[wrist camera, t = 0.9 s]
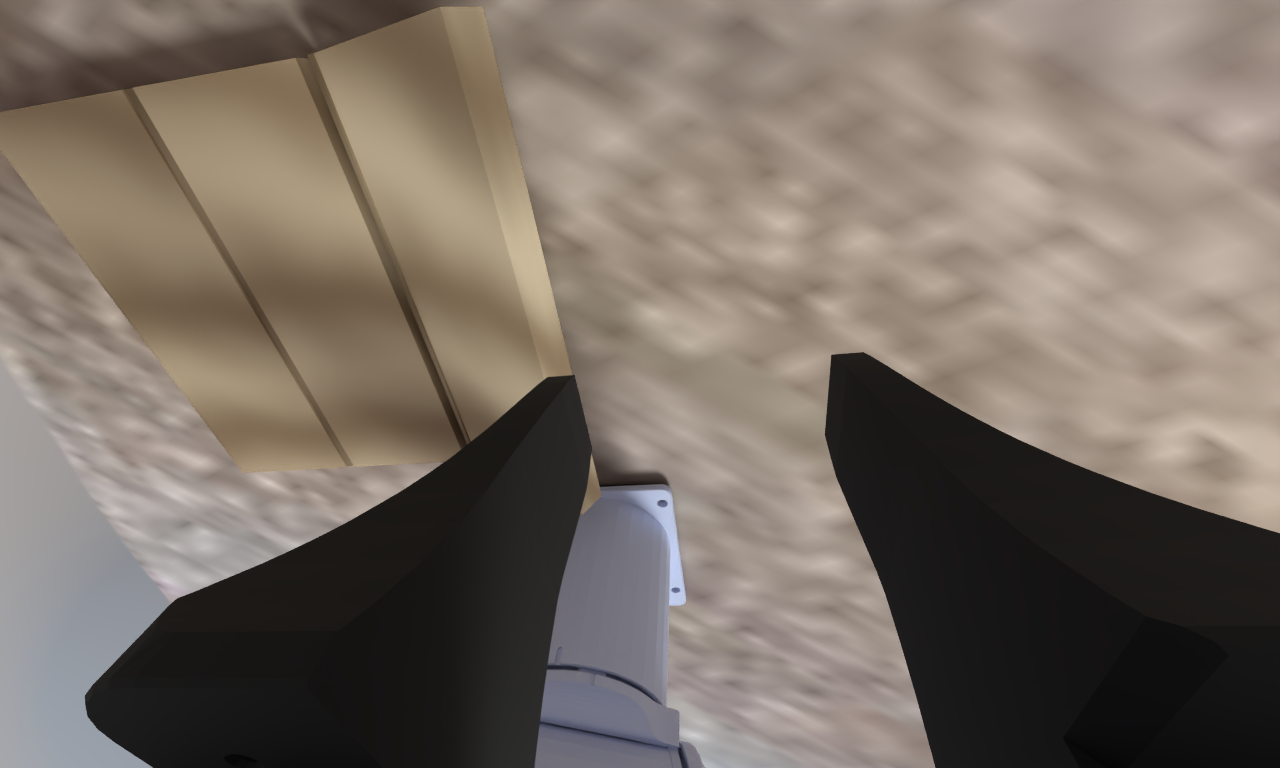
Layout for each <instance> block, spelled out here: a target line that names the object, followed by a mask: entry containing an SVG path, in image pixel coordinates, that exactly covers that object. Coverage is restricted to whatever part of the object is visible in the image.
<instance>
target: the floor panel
mask: <svg viewBox="0 0 1280 768" xmlns="http://www.w3.org/2000/svg"><path fill="white" fill-rule="evenodd" d="M0 150H1V152H2V153H3V154H4V156H5V157H6V158H7V160H8V161H9V162H10V164H11V165H12V166H13V168H14V169H15V170H16V171H17V173H18V174H19V175H20V177H21V178H22V179H23V181H24V182H25V183H26V185H27V186H28V187H29V189H30V190H31V191H32V193H33V194H34V195H35V197H36V198H37V199H38V201H39V202H40V203H41V205H42V206H43V207H44V209H45V210H46V211H47V213H48V214H49V215H50V217H51V218H52V219H53V221H54V222H55V223H56V225H57V226H58V227H59V229H60V230H61V231H62V233H63V234H64V235H65V237H66V238H67V239H68V241H69V242H70V243H71V245H72V246H73V247H74V249H75V250H76V251H77V253H78V254H79V255H80V257H81V258H82V259H83V261H84V262H85V263H86V265H87V266H88V267H89V269H90V270H91V271H92V273H93V274H94V275H95V277H96V278H97V279H98V281H99V282H100V283H101V285H102V286H103V287H104V289H105V290H106V291H107V293H108V294H109V295H110V297H111V298H112V299H113V301H114V302H115V303H116V305H117V306H118V307H119V309H120V310H121V311H122V313H123V314H124V315H125V317H126V318H127V319H128V321H129V322H130V323H131V325H132V326H133V327H134V329H135V330H136V331H137V333H138V334H139V335H140V337H141V338H142V339H143V341H144V342H145V343H146V345H147V346H148V347H149V349H150V350H151V351H152V353H153V354H154V355H155V357H156V358H157V359H158V361H159V362H160V363H161V365H162V366H163V367H164V369H165V370H166V371H167V373H168V374H169V375H170V377H171V378H172V379H173V381H174V382H175V383H176V385H177V386H178V387H179V389H180V390H181V391H182V393H183V394H184V395H185V397H186V398H187V399H188V401H189V402H190V403H191V405H192V406H193V407H194V409H195V410H196V411H197V413H198V414H199V415H200V417H201V418H202V419H203V420H204V422H205V423H206V424H207V426H208V427H209V428H210V430H211V431H212V432H213V434H214V435H215V436H216V438H217V439H218V440H219V442H220V443H221V444H222V446H223V447H224V448H225V450H226V451H227V452H228V454H229V455H230V456H231V458H232V459H233V460H234V462H235V463H236V464H237V466H238V467H239V468H240V470H241V471H242V472H243V473H250V472H268V471H286V470H304V469H322V468H340V467H347V466H352V465H354V467H358V466H376V465H394V464H412V463H430V462H445V461H447V460H448V459H449V458H451V457H452V456H453V455H455V454H456V453H457V452H459V451H460V450H461V449H462V448H464V447H465V446H466V445H467V443H466V440H465V438H464V435H463V433H462V431H461V428H460V426H459V423H458V421H457V418H456V416H455V414H454V411H453V409H452V406H451V404H450V401H449V399H448V397H447V394H446V392H445V389H444V387H443V384H442V382H441V380H440V377H439V375H438V372H437V370H436V367H435V365H434V363H433V360H432V358H431V355H430V353H429V350H428V348H427V346H426V343H425V341H424V338H423V336H422V333H421V331H420V329H419V326H418V324H417V321H416V319H415V316H414V314H413V312H412V309H411V307H410V304H409V302H408V299H407V297H406V295H405V292H404V290H403V287H402V285H401V282H400V280H399V278H398V275H397V273H396V270H395V268H394V265H393V263H392V261H391V258H390V256H389V253H388V251H387V248H386V246H385V244H384V241H383V239H382V236H381V234H380V231H379V229H378V227H377V224H376V222H375V219H374V217H373V214H372V212H371V209H370V207H369V205H368V202H367V200H366V197H365V195H364V192H363V190H362V188H361V185H360V183H359V180H358V178H357V175H356V173H355V171H354V168H353V166H352V163H351V161H350V158H349V156H348V154H347V151H346V149H345V146H344V144H343V141H342V139H341V137H340V134H339V132H338V129H337V127H336V124H335V122H334V120H333V117H332V115H331V112H330V110H329V107H328V105H327V103H326V100H325V98H324V95H323V93H322V90H321V88H320V86H319V83H318V81H317V78H316V76H315V73H314V71H313V69H312V66H311V64H310V61H309V59H308V58H292V59H286V60H281V61H275V62H270V63H264V64H259V65H253V66H248V67H242V68H237V69H232V70H226V71H221V72H215V73H210V74H204V75H199V76H193V77H188V78H182V79H177V80H171V81H166V82H161V83H155V84H150V85H144V86H139V87H133V88H130V89H125V90H117V91H111V92H106V93H100V94H95V95H90V96H84V97H79V98H73V99H68V100H62V101H57V102H51V103H46V104H40V105H35V106H29V107H24V108H19V109H13V110H8V111H2V112H0Z"/></svg>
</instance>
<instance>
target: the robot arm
mask: <svg viewBox="0 0 1280 768" xmlns="http://www.w3.org/2000/svg"><path fill="white" fill-rule="evenodd" d="M825 437H826V441H827V445H828V448H829V452H830V456H831V460H832V463H833V467H834V470H835V474H836V477H837V479H838V482H839V484H840V487H841V489H842V492H843V494H844V496H845V499H846V501H847V503H848V506H849V508H850V510H851V513H852V515H853V517H854V520H855V522H856V524H857V527H858V529H859V531H860V534H861V536H862V538H863V541H864V543H865V545H866V547H867V550H868V552H869V554H870V557H871V559H872V561H873V564H874V566H875V568H876V571H877V573H878V576H879V579H880V581H881V584H882V586H883V589H884V592H885V594H886V598H887V601H888V604H889V607H890V610H891V614H892V617H893V620H894V623H895V626H896V630H897V633H898V636H899V639H900V643H901V646H902V649H903V653H904V656H905V660H906V663H907V666H908V670H909V673H910V677H911V680H912V684H913V687H914V690H915V694H916V697H917V701H918V704H919V708H920V712H921V715H922V719H923V723H924V726H925V730H926V734H927V738H928V741H929V745H930V749H931V752H932V756H933V760H934V763H935V767H936V768H1280V533H1277V532H1273V531H1270V530H1266V529H1263V528H1260V527H1257V526H1253V525H1250V524H1247V523H1243V522H1240V521H1237V520H1234V519H1230V518H1227V517H1224V516H1221V515H1217V514H1214V513H1211V512H1207V511H1204V510H1201V509H1198V508H1195V507H1192V506H1189V505H1186V504H1183V503H1180V502H1177V501H1174V500H1171V499H1168V498H1165V497H1162V496H1159V495H1156V494H1153V493H1150V492H1147V491H1144V490H1142V489H1139V488H1136V487H1133V486H1131V485H1128V484H1125V483H1123V482H1120V481H1117V480H1114V479H1112V478H1109V477H1106V476H1104V475H1101V474H1098V473H1095V472H1093V471H1090V470H1088V469H1085V468H1083V467H1080V466H1078V465H1075V464H1073V463H1070V462H1068V461H1065V460H1063V459H1061V458H1059V457H1056V456H1054V455H1052V454H1050V453H1047V452H1045V451H1043V450H1040V449H1038V448H1036V447H1034V446H1031V445H1029V444H1027V443H1025V442H1022V441H1020V440H1018V439H1016V438H1014V437H1012V436H1010V435H1008V434H1005V433H1003V432H1001V431H999V430H997V429H995V428H994V427H992V426H990V425H988V424H986V423H984V422H982V421H980V420H978V419H976V418H974V417H973V416H971V415H969V414H967V413H965V412H963V411H961V410H960V409H958V408H956V407H954V406H952V405H951V404H949V403H947V402H945V401H944V400H942V399H940V398H939V397H937V396H935V395H934V394H932V393H930V392H928V391H927V390H925V389H923V388H922V387H920V386H919V385H917V384H915V383H914V382H912V381H910V380H909V379H907V378H906V377H904V376H902V375H901V374H899V373H898V372H896V371H894V370H893V369H891V368H890V367H888V366H886V365H885V364H883V363H881V362H880V361H878V360H876V359H875V358H873V357H871V356H869V355H868V354H866V353H864V352H861V353H848V354H836V355H831V367H830V379H829V392H828V404H827V416H826V428H825ZM591 453H592V446H591V442H590V438H589V433H588V429H587V425H586V421H585V417H584V413H583V408H582V404H581V400H580V396H579V392H578V388H577V383H576V379H575V375H567V376H555V377H547V378H546V379H544V380H543V381H542V382H540V383H539V384H538V385H537V386H535V387H534V388H533V389H532V390H531V391H530V392H529V393H527V394H526V395H525V396H524V397H523V398H522V399H521V400H520V401H518V402H517V403H516V404H515V405H514V406H513V407H512V408H510V409H509V410H508V411H507V412H506V413H505V414H504V415H502V416H501V417H500V418H499V419H498V420H497V421H496V422H494V423H493V424H492V425H491V426H490V427H489V428H487V429H486V430H485V431H484V432H482V433H481V434H480V435H479V436H477V437H476V438H475V439H474V440H472V441H471V442H470V443H469V444H467V445H466V446H465V447H464V448H462V449H461V450H460V451H459V452H457V453H456V454H455V455H453V456H452V457H451V458H449V459H448V460H447V461H445V462H444V463H443V464H441V465H440V466H438V467H437V468H436V469H434V470H433V471H431V472H430V473H428V474H427V475H425V476H424V477H422V478H421V479H419V480H418V481H416V482H415V483H413V484H412V485H410V486H409V487H407V488H406V489H404V490H402V491H401V492H399V493H398V494H396V495H394V496H392V497H391V498H389V499H387V500H385V501H384V502H382V503H380V504H379V505H377V506H375V507H373V508H372V509H370V510H368V511H366V512H365V513H363V514H361V515H359V516H358V517H356V518H354V519H352V520H351V521H349V522H347V523H345V524H343V525H341V526H339V527H337V528H335V529H334V530H332V531H330V532H328V533H326V534H324V535H322V536H320V537H318V538H316V539H314V540H312V541H310V542H308V543H305V544H303V545H301V546H299V547H297V548H295V549H293V550H291V551H289V552H287V553H285V554H282V555H280V556H278V557H276V558H274V559H271V560H269V561H267V562H265V563H262V564H260V565H258V566H255V567H253V568H251V569H248V570H246V571H243V572H241V573H239V574H236V575H234V576H231V577H229V578H227V579H224V580H222V581H219V582H217V583H215V584H212V585H210V586H208V587H205V588H203V589H200V590H198V591H195V592H193V593H190V594H188V595H185V596H183V597H180V598H177V599H176V600H175V601H174V602H172V603H171V604H170V605H169V606H168V607H167V608H166V609H165V611H164V612H163V613H162V614H161V615H160V616H159V617H158V618H157V619H156V620H155V621H154V622H153V623H152V624H151V625H150V626H149V627H148V628H147V629H146V630H145V631H144V633H143V634H142V635H141V636H140V637H139V638H138V639H137V640H136V641H135V642H134V643H133V644H132V645H131V646H130V647H129V648H128V649H127V650H126V651H125V652H124V653H123V654H122V655H121V656H120V658H118V659H117V660H116V662H115V663H114V664H113V665H112V666H111V667H110V668H109V669H108V670H107V671H106V672H105V673H104V674H103V675H102V676H101V677H100V678H99V679H98V680H97V681H96V682H95V683H94V684H93V685H92V687H91V688H90V690H89V691H88V692H87V693H86V695H85V705H86V710H87V715H88V717H89V719H90V720H91V721H92V722H93V723H94V725H95V726H96V728H97V729H98V730H99V731H101V732H102V733H103V734H105V735H106V736H107V737H109V738H110V739H111V740H112V741H114V742H115V743H117V744H118V745H120V746H121V747H123V748H124V749H126V750H127V751H129V752H131V753H132V754H133V755H135V756H136V757H138V758H139V759H141V760H143V761H144V762H146V763H147V764H149V765H150V766H152V767H153V768H705V767H704V765H703V763H702V761H701V758H700V756H699V754H698V752H697V750H696V748H695V747H694V746H693V745H692V744H690V743H688V742H683V741H679V711H678V710H675V709H671V708H667V671H668V634H669V605H682V604H684V603H685V602H686V592H685V585H684V578H683V570H682V563H681V556H680V549H679V541H678V534H677V527H676V520H675V512H674V505H673V498H672V491H671V488H670V487H668V486H667V485H664V484H653V485H632V486H610V487H600V491H601V495H602V496H601V497H600V498H599V499H598V500H597V501H596V502H595V503H594V504H593V505H592V506H591V507H590V508H589V509H588V510H587V511H586V512H585V513H584V514H583V515H581V514H580V513H581V509H582V505H583V502H584V498H585V494H586V490H587V485H588V477H589V470H590V462H591ZM659 500H665V501H664V502H662V501H659Z"/></svg>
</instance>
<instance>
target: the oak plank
mask: <svg viewBox="0 0 1280 768" xmlns="http://www.w3.org/2000/svg"><path fill="white" fill-rule="evenodd" d="M307 56H308V59H309V61H310V64H311V66H312V69H313V71H314V73H315V76H316V78H317V81H318V83H319V86H320V88H321V90H322V93H323V95H324V98H325V100H326V103H327V105H328V107H329V110H330V112H331V115H332V117H333V120H334V122H335V124H336V127H337V129H338V132H339V134H340V137H341V139H342V141H343V144H344V146H345V149H346V151H347V154H348V156H349V158H350V161H351V163H352V166H353V168H354V171H355V173H356V175H357V178H358V180H359V183H360V185H361V188H362V190H363V192H364V195H365V197H366V200H367V202H368V205H369V207H370V209H371V212H372V214H373V217H374V219H375V222H376V224H377V227H378V229H379V231H380V234H381V236H382V239H383V241H384V244H385V246H386V248H387V251H388V253H389V256H390V258H391V261H392V263H393V265H394V268H395V270H396V273H397V275H398V278H399V280H400V282H401V285H402V287H403V290H404V292H405V295H406V297H407V299H408V302H409V304H410V307H411V309H412V312H413V314H414V316H415V319H416V321H417V324H418V326H419V329H420V331H421V333H422V336H423V338H424V341H425V343H426V346H427V348H428V350H429V353H430V355H431V358H432V360H433V363H434V365H435V367H436V370H437V372H438V375H439V377H440V380H441V382H442V384H443V387H444V389H445V392H446V394H447V397H448V399H449V401H450V404H451V406H452V409H453V411H454V414H455V416H456V418H457V421H458V423H459V426H460V428H461V431H462V433H463V435H464V438H465V440H466V443H467V444H469V443H470V442H471V441H472V440H474V439H475V438H476V437H477V436H479V435H480V434H481V433H482V432H484V431H485V430H486V429H487V428H489V427H490V426H491V425H492V424H493V423H494V422H496V421H497V420H498V419H499V418H500V417H501V416H502V415H504V414H505V413H506V412H507V411H508V410H509V409H510V408H512V407H513V406H514V405H515V404H516V403H517V402H518V401H520V400H521V399H522V398H523V397H524V396H525V395H526V394H527V393H529V392H530V391H531V390H532V389H533V388H534V387H535V386H537V385H538V384H539V383H540V382H542V381H543V380H544V379H546V378H547V377H555V376H567V375H572V371H571V367H570V363H569V359H568V355H567V351H566V346H565V342H564V338H563V334H562V330H561V326H560V322H559V318H558V313H557V309H556V305H555V301H554V297H553V293H552V289H551V285H550V281H549V276H548V272H547V268H546V264H545V260H544V256H543V252H542V248H541V243H540V239H539V235H538V231H537V227H536V223H535V219H534V215H533V211H532V206H531V202H530V198H529V194H528V190H527V186H526V182H525V178H524V173H523V169H522V165H521V161H520V157H519V153H518V149H517V145H516V141H515V136H514V132H513V128H512V124H511V120H510V116H509V112H508V108H507V103H506V99H505V95H504V91H503V87H502V83H501V79H500V75H499V71H498V66H497V62H496V58H495V54H494V50H493V46H492V42H491V38H490V33H489V29H488V25H487V21H486V17H485V13H484V9H483V7H437V8H435V9H432V10H429V11H427V12H424V13H421V14H418V15H416V16H413V17H410V18H408V19H405V20H402V21H400V22H397V23H394V24H391V25H389V26H386V27H383V28H381V29H378V30H375V31H372V32H370V33H367V34H364V35H362V36H359V37H356V38H354V39H351V40H348V41H345V42H343V43H340V44H337V45H335V46H332V47H329V48H327V49H324V50H321V51H318V52H316V53H311V54H308V55H307ZM601 496H602V495H601V491H600V486H599V482H598V478H597V474H596V470H595V466H594V462H593V458H592V454H591V462H590V470H589V477H588V485H587V490H586V494H585V498H584V502H583V505H582V509H581V513H580V514H581V515H583V514H584V513H585V512H586V511H587V510H588V509H589V508H590V507H591V506H592V505H593V504H594V503H595V502H596V501H597V500H598V499H599V498H600V497H601Z"/></svg>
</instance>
